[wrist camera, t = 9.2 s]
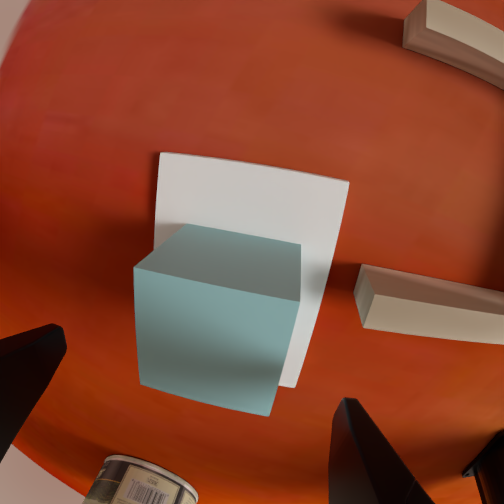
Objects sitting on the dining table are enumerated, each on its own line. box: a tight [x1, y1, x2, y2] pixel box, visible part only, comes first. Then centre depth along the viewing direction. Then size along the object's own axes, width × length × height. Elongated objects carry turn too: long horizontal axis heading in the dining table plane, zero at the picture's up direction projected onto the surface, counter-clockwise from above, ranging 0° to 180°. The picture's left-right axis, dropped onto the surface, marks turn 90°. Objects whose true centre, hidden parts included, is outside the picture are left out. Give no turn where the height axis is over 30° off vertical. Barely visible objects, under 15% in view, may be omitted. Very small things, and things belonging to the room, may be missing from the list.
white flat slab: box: [154, 152, 349, 388], centre depth 15 cm, size 11×8×1 cm
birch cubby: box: [353, 0, 504, 344], centre depth 10 cm, size 13×10×3 cm
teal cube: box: [134, 224, 301, 416], centre depth 12 cm, size 5×5×5 cm
